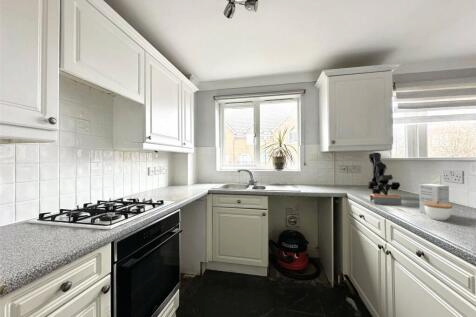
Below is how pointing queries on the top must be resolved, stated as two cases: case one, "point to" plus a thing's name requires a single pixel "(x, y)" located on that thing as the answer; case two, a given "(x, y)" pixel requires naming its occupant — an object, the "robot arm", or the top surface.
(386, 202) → the cable duct
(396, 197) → the duct cover
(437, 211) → the lidded jar
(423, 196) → the supplement box
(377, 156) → the robot arm
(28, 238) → the top surface
